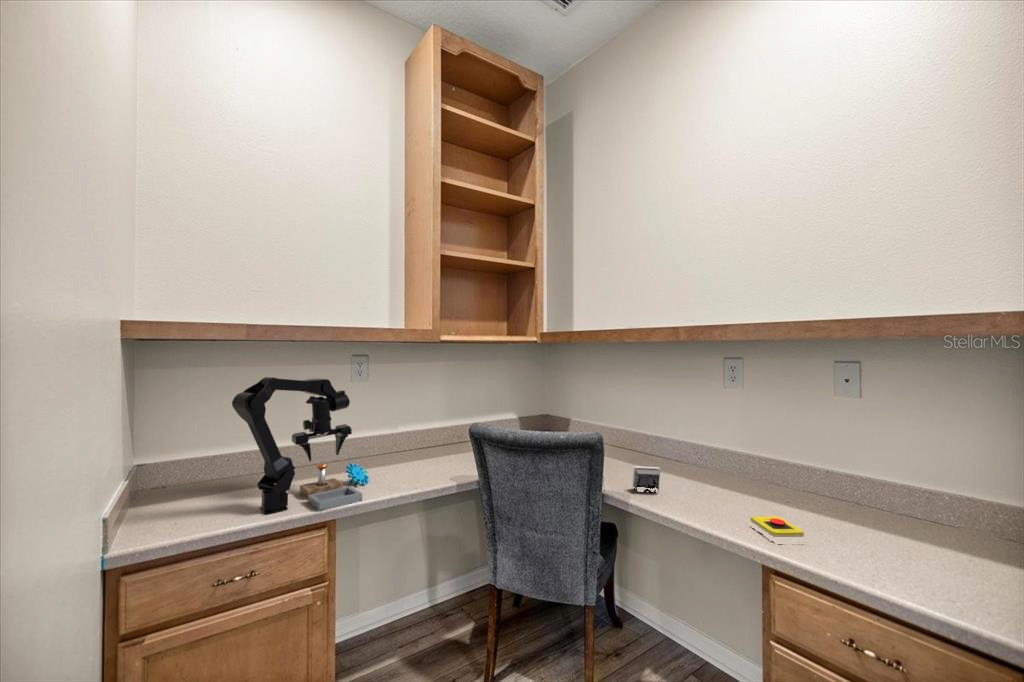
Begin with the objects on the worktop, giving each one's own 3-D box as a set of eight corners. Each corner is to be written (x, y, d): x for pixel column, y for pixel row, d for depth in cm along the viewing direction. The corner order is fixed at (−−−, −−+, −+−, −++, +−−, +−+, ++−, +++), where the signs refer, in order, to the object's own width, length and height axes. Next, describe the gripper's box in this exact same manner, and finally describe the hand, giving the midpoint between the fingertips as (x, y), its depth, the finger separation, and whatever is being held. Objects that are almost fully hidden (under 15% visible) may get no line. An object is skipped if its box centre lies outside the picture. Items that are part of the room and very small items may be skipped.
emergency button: (776, 530, 117) (744, 509, 132) (776, 547, 117) (744, 524, 132) (810, 530, 118) (774, 509, 133) (810, 546, 118) (774, 524, 133)
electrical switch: (658, 490, 161) (659, 465, 161) (661, 496, 156) (662, 470, 156) (632, 488, 163) (632, 464, 162) (634, 495, 158) (634, 469, 157)
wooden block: (307, 499, 148) (308, 490, 148) (299, 493, 153) (299, 485, 154) (343, 491, 156) (343, 483, 156) (334, 486, 162) (334, 478, 162)
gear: (357, 485, 158) (343, 463, 162) (346, 495, 159) (333, 473, 162) (376, 480, 169) (362, 460, 172) (366, 490, 169) (352, 470, 173)
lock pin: (318, 495, 152) (318, 466, 152) (314, 492, 155) (315, 464, 155) (328, 492, 155) (328, 464, 155) (324, 490, 157) (325, 462, 157)
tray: (319, 511, 138) (319, 503, 138) (308, 502, 145) (308, 495, 145) (362, 500, 147) (362, 493, 147) (349, 493, 155) (349, 486, 155)
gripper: (340, 406, 166) (342, 447, 167) (286, 415, 154) (289, 458, 155) (351, 411, 158) (353, 453, 159) (295, 420, 146) (297, 466, 147)
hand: (323, 458), depth 155 cm, fingers open, 9 cm apart
